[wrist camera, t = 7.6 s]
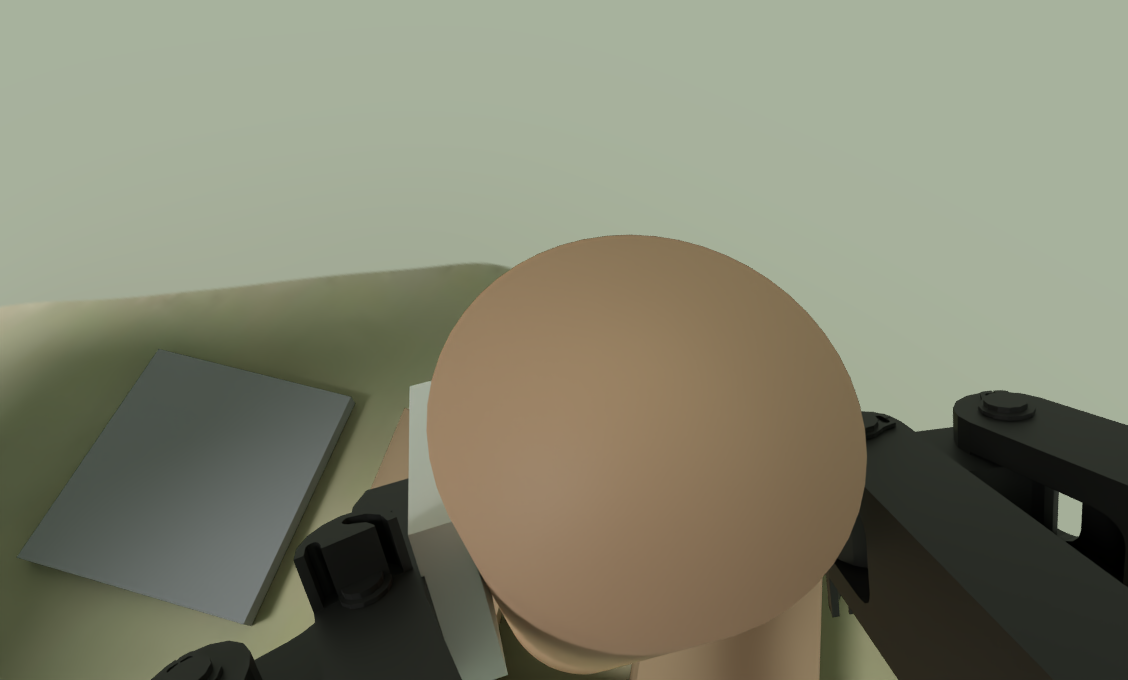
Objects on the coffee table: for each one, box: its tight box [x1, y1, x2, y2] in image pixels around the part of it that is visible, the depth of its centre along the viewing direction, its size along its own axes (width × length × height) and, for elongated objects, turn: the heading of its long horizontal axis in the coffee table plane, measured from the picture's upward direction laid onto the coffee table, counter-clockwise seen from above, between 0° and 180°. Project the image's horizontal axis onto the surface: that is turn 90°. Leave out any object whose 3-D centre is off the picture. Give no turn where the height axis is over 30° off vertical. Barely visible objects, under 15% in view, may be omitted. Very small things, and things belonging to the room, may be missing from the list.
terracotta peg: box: [426, 235, 867, 674], centre depth 11 cm, size 4×4×12 cm
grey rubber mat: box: [17, 349, 355, 626], centre depth 29 cm, size 11×11×1 cm
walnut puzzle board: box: [371, 408, 822, 680], centre depth 26 cm, size 20×14×2 cm
